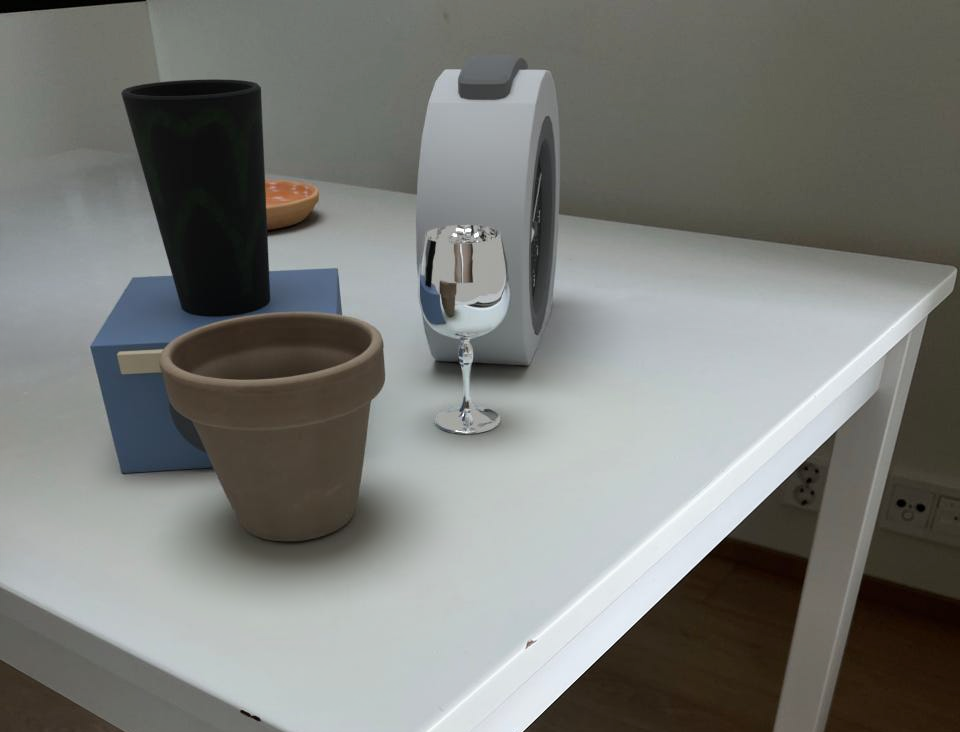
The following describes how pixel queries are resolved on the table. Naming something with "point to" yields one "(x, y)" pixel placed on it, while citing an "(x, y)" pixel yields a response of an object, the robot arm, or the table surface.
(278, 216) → the saucer
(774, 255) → the table surface
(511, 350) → the alarm clock
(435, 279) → the wineglass
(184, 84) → the cup
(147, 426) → the blue tabbed box
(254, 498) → the flower pot
